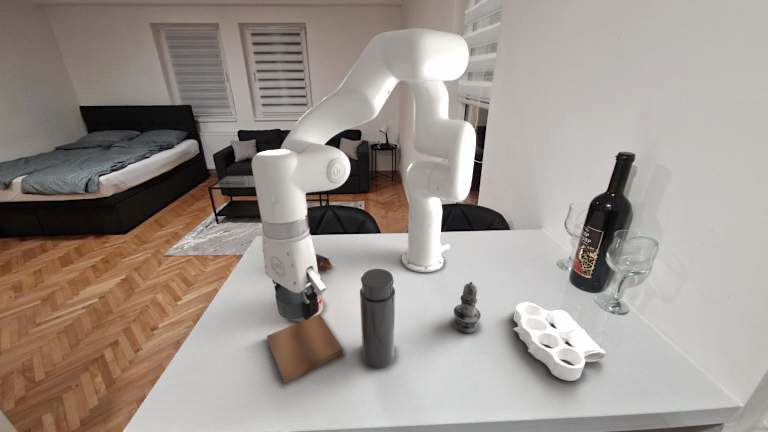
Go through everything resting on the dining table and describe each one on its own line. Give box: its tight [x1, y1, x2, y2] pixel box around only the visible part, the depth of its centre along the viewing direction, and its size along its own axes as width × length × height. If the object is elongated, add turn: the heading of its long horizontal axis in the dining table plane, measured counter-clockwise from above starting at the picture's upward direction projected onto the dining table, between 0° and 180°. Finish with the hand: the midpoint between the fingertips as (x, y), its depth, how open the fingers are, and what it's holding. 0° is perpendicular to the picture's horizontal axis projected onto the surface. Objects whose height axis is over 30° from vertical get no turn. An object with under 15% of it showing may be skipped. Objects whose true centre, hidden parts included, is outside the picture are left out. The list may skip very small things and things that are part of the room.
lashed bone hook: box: [315, 253, 333, 272], centre depth 90 cm, size 9×5×18 cm
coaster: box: [266, 313, 344, 384], centre depth 63 cm, size 12×12×2 cm
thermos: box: [359, 268, 396, 369], centre depth 58 cm, size 6×6×19 cm
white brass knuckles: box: [512, 302, 607, 382], centre depth 64 cm, size 3×18×15 cm
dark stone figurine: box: [453, 281, 482, 335], centre depth 67 cm, size 6×6×12 cm
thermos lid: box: [274, 281, 312, 320], centre depth 58 cm, size 7×7×4 cm
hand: (297, 306), depth 59 cm, fingers closed on thermos lid, 7 cm apart
